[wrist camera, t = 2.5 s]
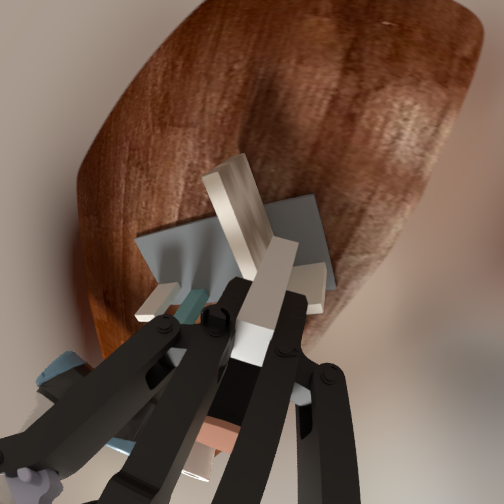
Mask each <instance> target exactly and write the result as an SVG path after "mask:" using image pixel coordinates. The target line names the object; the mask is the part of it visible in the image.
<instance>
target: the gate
mask: <svg viewBox="0 0 504 504" xmlns="http://www.w3.org/2000/svg"><path fill="white" fill-rule="evenodd" d="M202 180H203V182H204V185H205V187H206V189H207V192H208V194H209V197H210V199H211V202H212V204H213V206H214V209H215V211H216V214H217V216H218V219H219V221H220V223H221V226H222V228H223V230H224V233H225V235H226V238H227V240H228V242H229V245H230V247H231V250H232V252H233V254H234V257H235V259H236V261H237V264H238V266H239V268H240V271H241V273H242V275H243V278H244V279H247V280H251V281H253V280H254V278H255V276H256V274H257V271H258V269H259V267H260V264H261V262H262V260H263V258H264V255H265V253H266V251H267V249H268V246H269V244H270V242H271V239H272V237H273V236H274V234H273V232H272V229H271V226H270V223H269V220H268V217H267V214H266V211H265V208H264V206H263V203H262V200H261V197H260V194H259V191H258V188H257V186H256V183H255V180H254V177H253V174H252V172H251V169H250V166H249V163H248V161H247V158H246V155H245V153H242V154H239V155H236V156H233V157H230V158H229V159H227V160H226V161H224V162H223V163H221V164H220V165H218V166H217V167H215V168H214V169H212V170H211V171H209V172H208V173H206V174H205V175H204V176H202Z"/></svg>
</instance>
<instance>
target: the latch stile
mask: <svg viewBox="0 0 504 504" xmlns="http://www.w3.org/2000/svg"><path fill="white" fill-rule="evenodd" d="M208 299H209V296H208V294H207V292H206V290H205V289H196V290H191V291H190V292H189V294H188V295H187V297H186V298H185V299H184V301H183V302H182V304H181V305H180V307H179V308H178V310H177V311H176V313H175V314H174V317H175V318H176V319H178V320H179V323H180V324H194V323H195V321H196V320H197V318H198V316H199V315H200V313H201V310H202V309H203V308H204V306H205V304H206V302H207V301H208Z"/></svg>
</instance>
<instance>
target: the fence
mask: <svg viewBox="0 0 504 504" xmlns="http://www.w3.org/2000/svg"><path fill="white" fill-rule="evenodd" d="M326 277H327V269H326V264H325V262H321V263H314V264H308V265H301V266H294V267H292V270H291V274H290V278H289V281H288V285H287V288H286V290H288V291H292V292H295V293H299V294H303V295H306V298H307V301H308V308H307V314H306V315H308V314H318V313H323V310H324V300H325V289H326ZM180 290H181V287H180V285H179V283H178V282H174V283H166V284H159V285H158V286H157V287H156V288H155V290H154V291H153V292H152V293H151V295H150V296H149V297H148V298H147V300H146V301H145V302H144V303H143V305H142V306H141V307H140V308H139V310H138V311H137V312H136V314H135V317H136V318H137V320H138V321H139V322H149V321H150V320H152V319H153V318H154V317H156V316H158V315H162V314H164V313H165V311H166V310H167V308H168V307H169V306H170V304H171V303H172V301H173V300H174V298H175V297H176V296H177V294H178V293H179V291H180Z"/></svg>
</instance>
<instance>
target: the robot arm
mask: <svg viewBox="0 0 504 504" xmlns="http://www.w3.org/2000/svg"><path fill="white" fill-rule="evenodd" d="M298 244H299V243H298V242H294V241H291V240H287V239H283V238H279V237H276V236H273V237H272V239H271V242H270V244H269V246H268V249H267V251H266V253H265V255H264V258H263V260H262V262H261V264H260V267H259V269H258V271H257V274H256V276H255V278H254V280H253V281H251V280H247V279H244V278H240V277H237V276H236V277H235V278H233V279H232V280H230V281H229V282H228V284H227V286H226V288H225V290H224V291H223V293H222V296H221V297H220V299H219V300H218V302H217V304H213V305H208V306H206V307H204V308H203V309H202V310H201V323H199V324H180V323H179V320H178V319H176V318H175V317H174V316H171V315H167V314H162V315H158V316H156V317H154V318H153V319H152V320H150V321H149V322H148V323H147V324H146V325H145V326H143V327H142V328H141V329H140V330H139V331H138V332H136V333H135V334H134V335H133V336H132V337H131V338H129V339H128V340H127V341H126V342H125V343H124V344H122V345H121V346H120V347H119V348H118V349H117V350H115V351H114V352H113V353H112V354H111V355H110V356H109V357H107V358H106V359H105V360H104V361H103V362H102V363H101V364H99V365H98V366H97V367H96V368H95V369H94V368H92V367H91V366H90V365H89V364H88V362H87V361H84V360H83V359H82V358H81V357H80V356H78V355H77V354H76V353H75V352H73V351H66V352H64V353H63V354H61V355H60V356H59V357H58V358H57V359H55V360H54V361H53V362H52V363H51V364H50V365H49V366H48V367H47V368H46V369H45V370H44V371H43V372H42V373H41V374H40V375H39V377H38V378H37V379H36V384H37V386H38V387H39V389H38V390H37V392H36V393H35V394H36V400H37V405H36V407H35V408H34V410H33V412H32V413H31V414H30V416H29V417H28V419H27V420H26V422H25V423H24V425H23V426H22V428H21V430H20V431H19V433H18V434H15V435H12V436H8V437H5V438H1V439H0V504H52V501H53V500H54V499H55V498H56V497H57V496H59V495H60V493H61V492H62V491H63V485H62V483H61V482H60V480H62V479H65V478H67V477H69V476H71V475H72V474H74V473H75V472H77V471H78V470H79V469H80V468H82V467H83V466H84V465H85V464H86V463H87V462H88V461H89V460H90V459H91V458H92V457H93V456H94V455H95V454H96V453H97V452H98V451H99V450H100V449H101V448H102V447H103V446H104V445H106V446H108V447H110V448H113V449H115V450H117V451H119V452H121V453H123V454H126V455H128V459H127V460H126V462H125V464H124V466H123V467H122V469H121V470H120V471H119V472H118V473H117V474H115V475H113V476H112V478H111V479H110V480H109V482H108V483H107V485H106V487H105V489H104V491H103V493H102V494H101V496H100V498H99V500H94V501H90V502H87V503H83V504H169V502H170V498H171V494H172V492H173V489H174V487H175V485H176V483H177V480H178V479H179V476H180V474H181V472H182V470H183V468H184V465H185V463H186V461H187V459H188V456H189V454H190V452H191V450H192V447H193V445H194V443H195V441H196V438H197V436H198V434H199V432H200V429H201V427H202V425H203V422H204V420H205V418H206V415H207V413H208V411H209V408H210V406H211V404H212V401H213V399H214V397H215V394H216V392H217V390H218V387H219V385H220V383H221V380H222V378H223V376H224V373H225V371H226V368H227V364H228V360H229V357H230V355H231V358H235V359H238V360H241V361H244V362H247V363H250V364H254V365H257V366H261V370H260V373H259V376H258V379H257V382H256V385H255V388H254V391H253V394H252V397H251V400H250V403H249V405H248V408H247V411H246V414H245V417H244V420H243V422H242V425H241V428H240V431H239V434H238V436H237V439H236V442H235V444H234V447H233V450H232V452H231V455H230V458H229V461H228V463H227V465H226V468H225V471H224V473H223V476H222V478H221V481H220V483H219V486H218V488H217V491H216V493H215V496H214V498H213V500H212V503H211V504H260V502H261V499H262V496H263V493H264V490H265V486H266V484H267V480H268V477H269V474H270V471H271V467H272V464H273V461H274V457H275V454H276V451H277V447H278V444H279V440H280V436H281V433H282V429H283V426H284V422H285V418H286V414H287V410H288V406H289V402H290V401H292V402H294V403H295V407H296V430H297V431H296V432H297V464H298V465H297V469H298V504H361V501H360V486H359V475H358V466H357V456H356V447H355V439H354V432H353V424H352V417H351V411H350V405H349V397H348V391H347V386H346V380H345V376H344V373H343V371H342V370H341V369H340V368H339V367H338V366H336V365H335V364H331V363H323V364H320V365H318V364H316V363H315V362H313V361H311V360H310V359H308V358H307V357H306V356H305V355H304V353H303V352H302V349H301V339H302V334H303V329H304V324H305V319H306V314H307V308H308V301H307V298H306V295H303V294H299V293H295V292H292V291H288V290H286V288H287V285H288V281H289V278H290V274H291V270H292V267H293V263H294V259H295V255H296V252H297V248H298Z"/></svg>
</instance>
